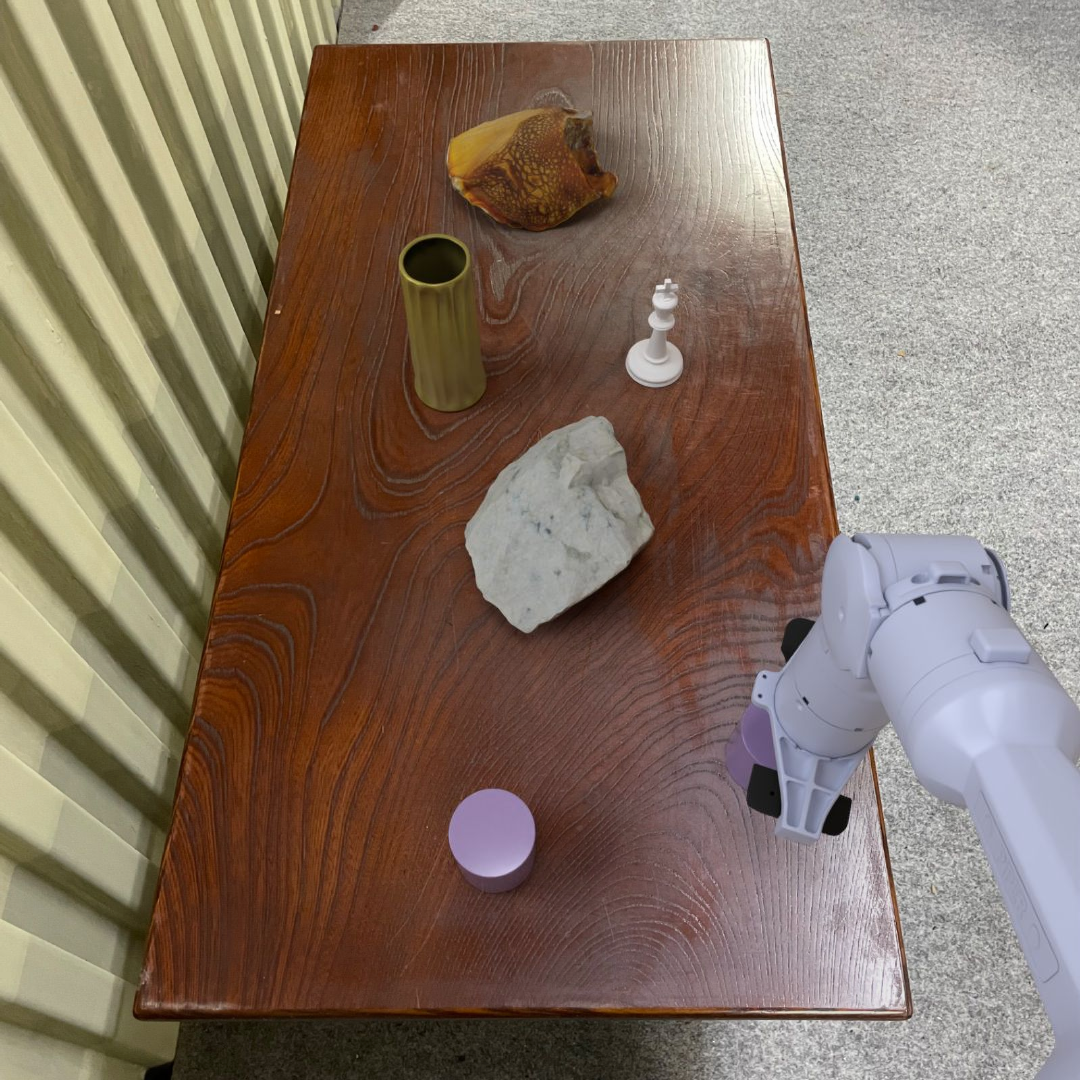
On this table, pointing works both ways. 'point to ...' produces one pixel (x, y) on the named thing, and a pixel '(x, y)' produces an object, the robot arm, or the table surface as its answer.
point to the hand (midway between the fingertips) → (788, 754)
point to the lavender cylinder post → (493, 840)
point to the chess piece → (657, 344)
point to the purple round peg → (750, 745)
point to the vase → (442, 322)
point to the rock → (557, 525)
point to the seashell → (530, 166)
